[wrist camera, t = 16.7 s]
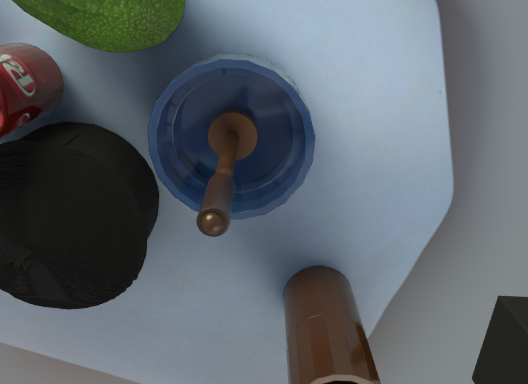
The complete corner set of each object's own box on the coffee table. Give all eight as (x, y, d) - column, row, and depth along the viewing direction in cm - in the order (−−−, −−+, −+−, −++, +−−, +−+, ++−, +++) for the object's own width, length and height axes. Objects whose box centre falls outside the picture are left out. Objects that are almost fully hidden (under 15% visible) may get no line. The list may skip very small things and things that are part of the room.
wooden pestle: (259, 108, 45) (255, 191, 25) (256, 154, 47) (251, 265, 27) (210, 105, 45) (168, 187, 25) (210, 151, 47) (170, 262, 27)
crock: (355, 267, 54) (393, 376, 38) (346, 323, 57) (378, 444, 41) (285, 264, 53) (295, 372, 38) (281, 320, 57) (287, 440, 41)
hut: (8, 255, 53) (-81, 344, 39) (-8, 108, 46) (-124, 153, 32) (161, 273, 54) (126, 365, 40) (168, 131, 47) (128, 185, 33)
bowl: (315, 56, 44) (322, 64, 38) (301, 198, 50) (306, 222, 44) (158, 47, 43) (143, 54, 38) (164, 191, 50) (152, 215, 44)
